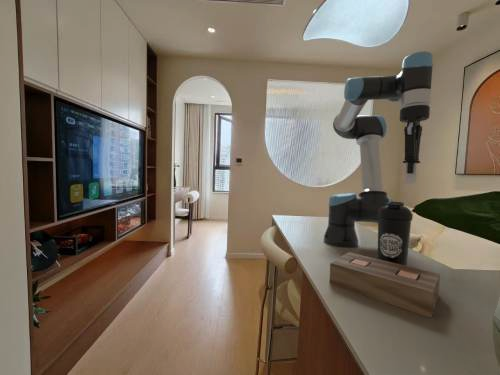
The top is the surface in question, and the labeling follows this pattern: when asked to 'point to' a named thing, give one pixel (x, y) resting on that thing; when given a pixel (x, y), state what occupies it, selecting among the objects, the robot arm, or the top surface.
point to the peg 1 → (360, 262)
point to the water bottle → (394, 232)
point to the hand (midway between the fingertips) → (410, 184)
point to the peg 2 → (408, 275)
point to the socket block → (387, 282)
